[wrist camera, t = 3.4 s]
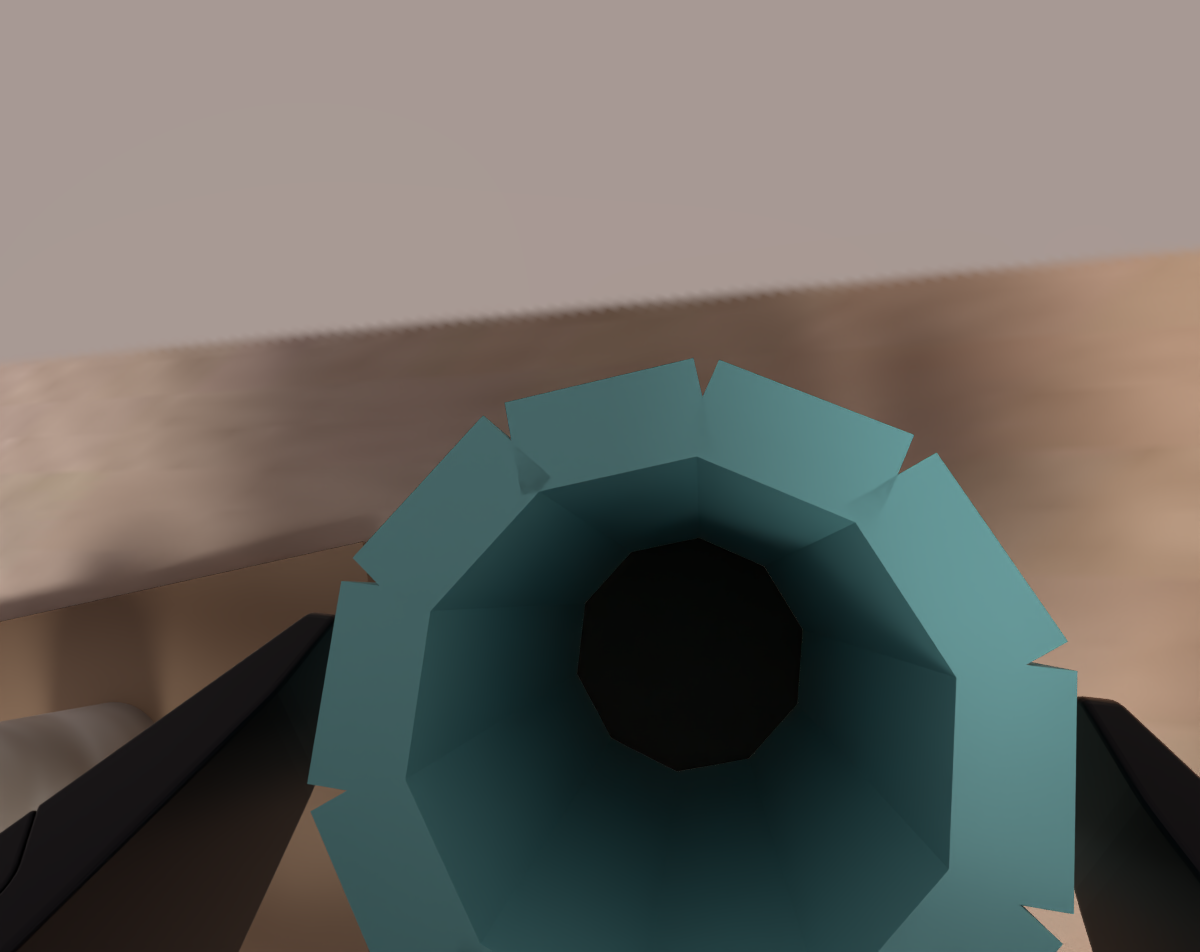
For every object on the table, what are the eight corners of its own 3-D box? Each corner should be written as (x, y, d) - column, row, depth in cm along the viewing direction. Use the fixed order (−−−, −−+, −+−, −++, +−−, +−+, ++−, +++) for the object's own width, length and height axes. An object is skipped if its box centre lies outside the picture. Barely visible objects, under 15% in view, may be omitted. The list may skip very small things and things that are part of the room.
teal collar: (889, 783, 15) (1212, 1101, 6) (563, 839, 16) (354, 1207, 6) (808, 470, 17) (958, 295, 7) (509, 535, 18) (269, 458, 8)
